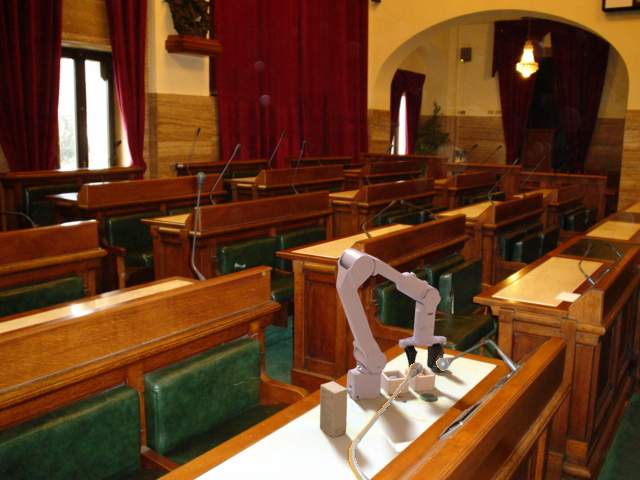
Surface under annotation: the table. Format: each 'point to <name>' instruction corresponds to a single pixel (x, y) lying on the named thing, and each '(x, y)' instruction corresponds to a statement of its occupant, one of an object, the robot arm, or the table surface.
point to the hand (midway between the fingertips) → (420, 368)
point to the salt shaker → (437, 359)
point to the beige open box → (422, 380)
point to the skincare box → (333, 408)
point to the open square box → (393, 381)
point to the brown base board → (424, 398)
